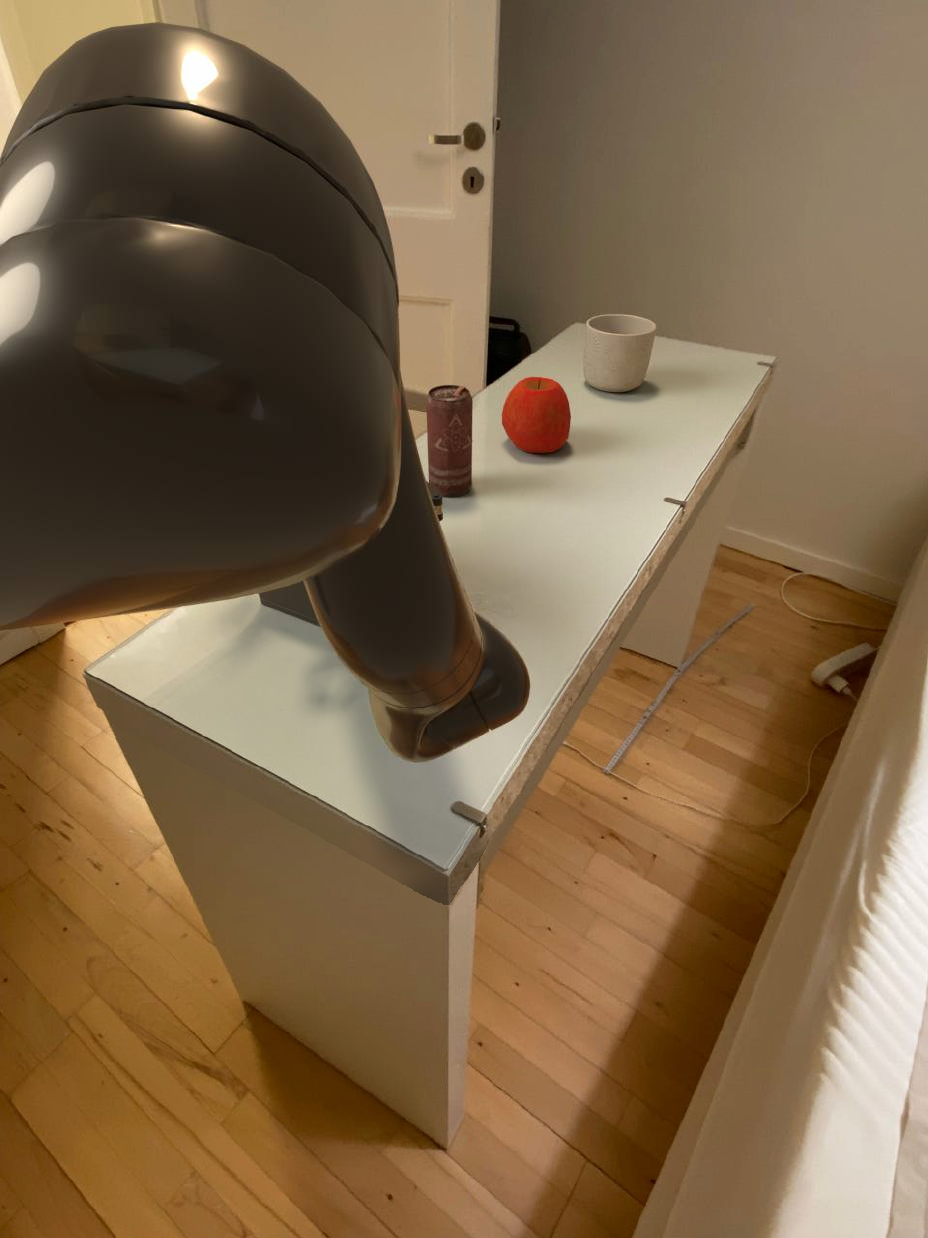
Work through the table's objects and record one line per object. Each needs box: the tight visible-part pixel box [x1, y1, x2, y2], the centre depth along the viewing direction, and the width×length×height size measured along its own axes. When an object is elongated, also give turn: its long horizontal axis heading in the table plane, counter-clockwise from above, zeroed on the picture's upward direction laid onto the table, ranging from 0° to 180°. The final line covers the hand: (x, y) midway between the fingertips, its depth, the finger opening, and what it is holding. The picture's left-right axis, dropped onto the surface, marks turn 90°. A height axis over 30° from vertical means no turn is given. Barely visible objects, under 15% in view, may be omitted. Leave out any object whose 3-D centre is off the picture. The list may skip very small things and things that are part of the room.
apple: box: [501, 376, 572, 454], centre depth 105 cm, size 11×11×11 cm
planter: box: [582, 313, 657, 393], centre depth 125 cm, size 12×12×11 cm
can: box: [425, 384, 474, 498], centre depth 93 cm, size 6×6×14 cm
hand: (351, 472), depth 70 cm, fingers closed on pill bottle, 5 cm apart
